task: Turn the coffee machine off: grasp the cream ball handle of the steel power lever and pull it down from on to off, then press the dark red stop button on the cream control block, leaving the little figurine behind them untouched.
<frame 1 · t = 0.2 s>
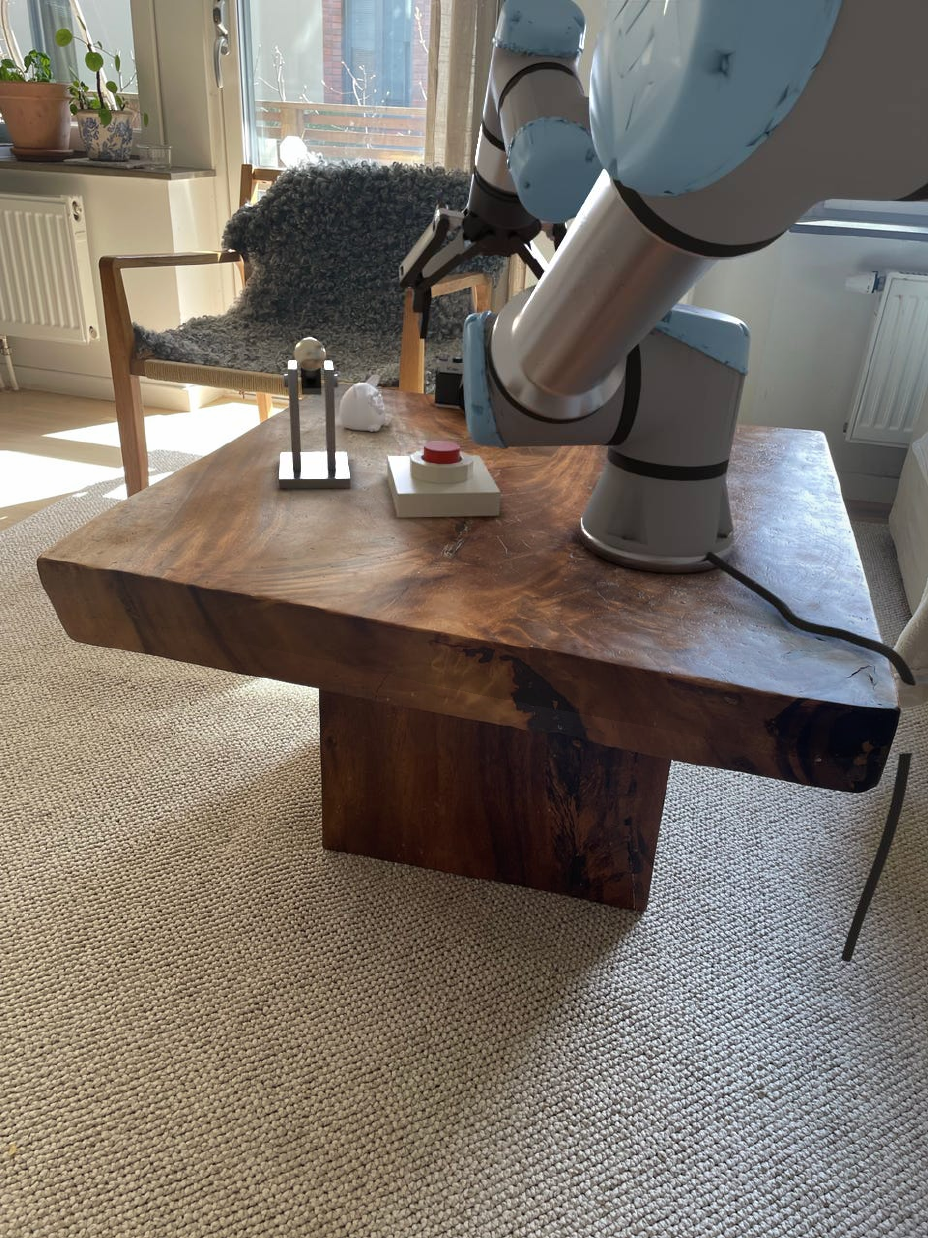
hand: (478, 333, 106), 16 cm above the table, tool tilted 35°, fingers open, 13 cm apart
figurine: (363, 427, 125), on the table
control block: (440, 495, 101), on the table
camera: (472, 412, 135), on the table
stop button: (441, 453, 98), point 5 cm above the table, slide at 0.1 cm
power lever: (310, 368, 95), point 13 cm above the table, hinge at 28.0°
grey metal frame: (314, 474, 105), on the table
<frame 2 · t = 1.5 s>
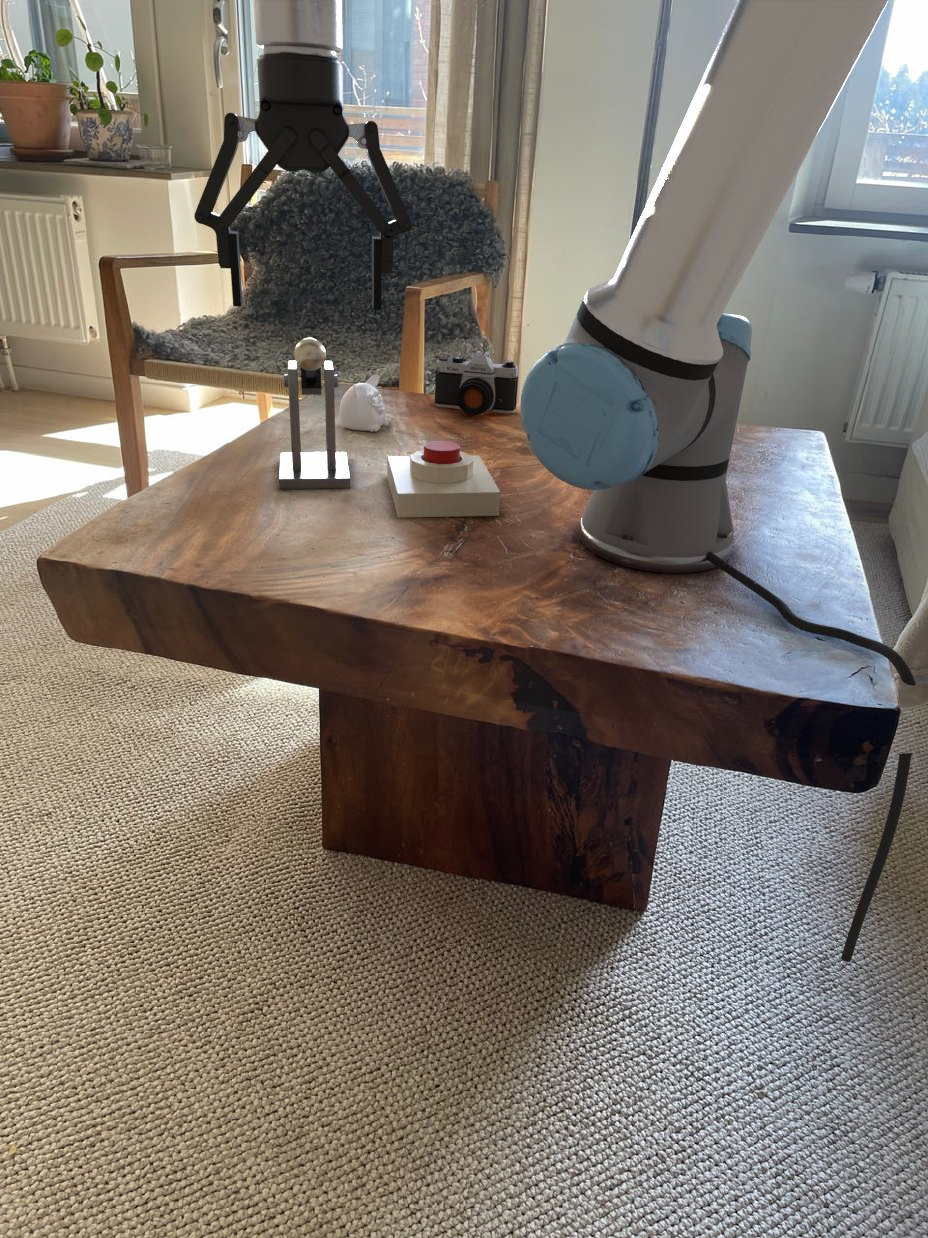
hand: (308, 306, 88), 20 cm above the table, tool pointing down, fingers open, 13 cm apart
nothing on the table moved.
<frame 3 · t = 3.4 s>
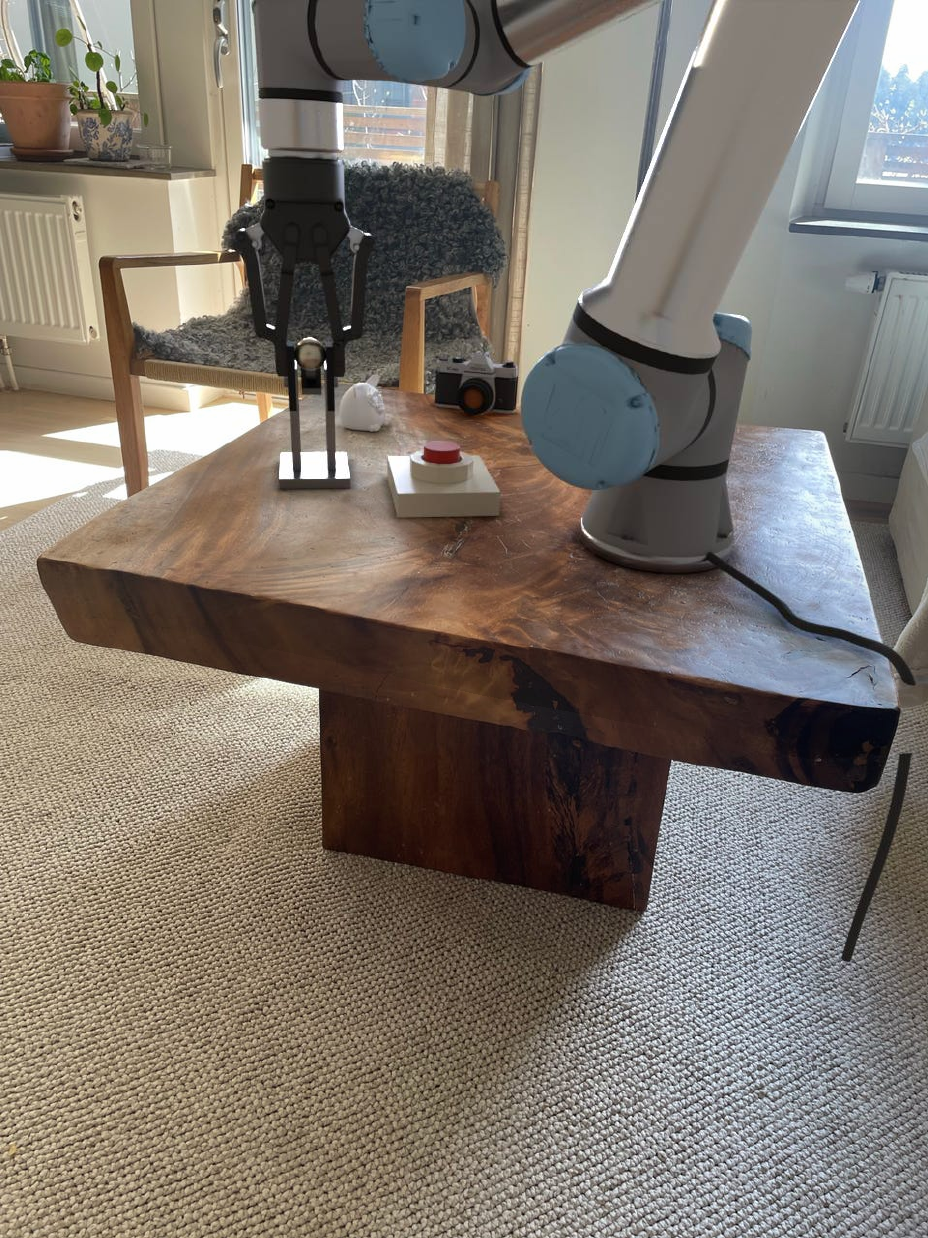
hand: (312, 407, 93), 10 cm above the table, tool pointing down, fingers closed on power lever, 3 cm apart
power lever: (310, 368, 95), point 13 cm above the table, hinge at 28.0°, touching gripper
everything else where it was.
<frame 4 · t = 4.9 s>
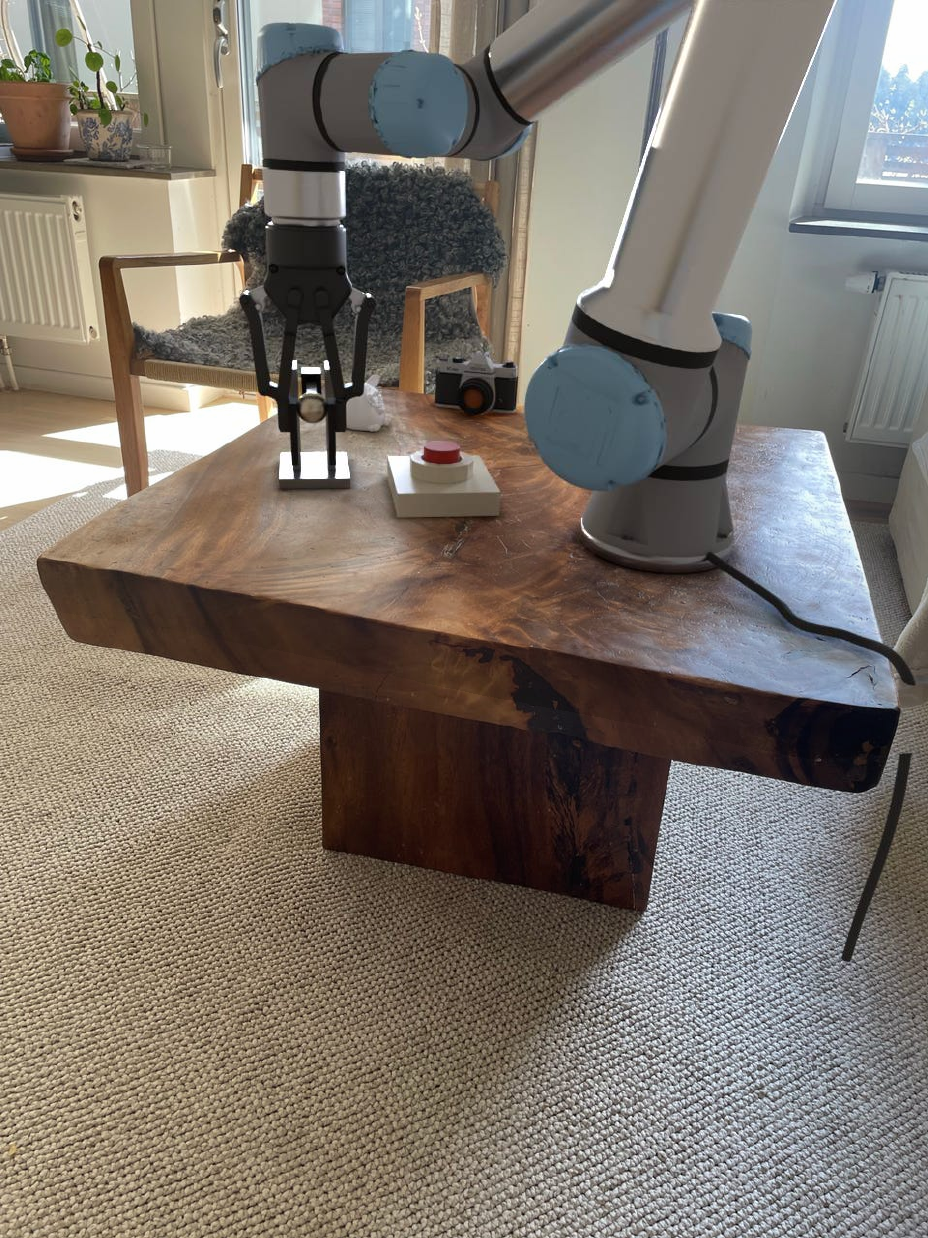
hand: (313, 460, 95), 5 cm above the table, tool pointing down, fingers closed on power lever, 3 cm apart
power lever: (311, 393, 96), point 11 cm above the table, hinge at -2.7°, touching gripper
everything else where it was.
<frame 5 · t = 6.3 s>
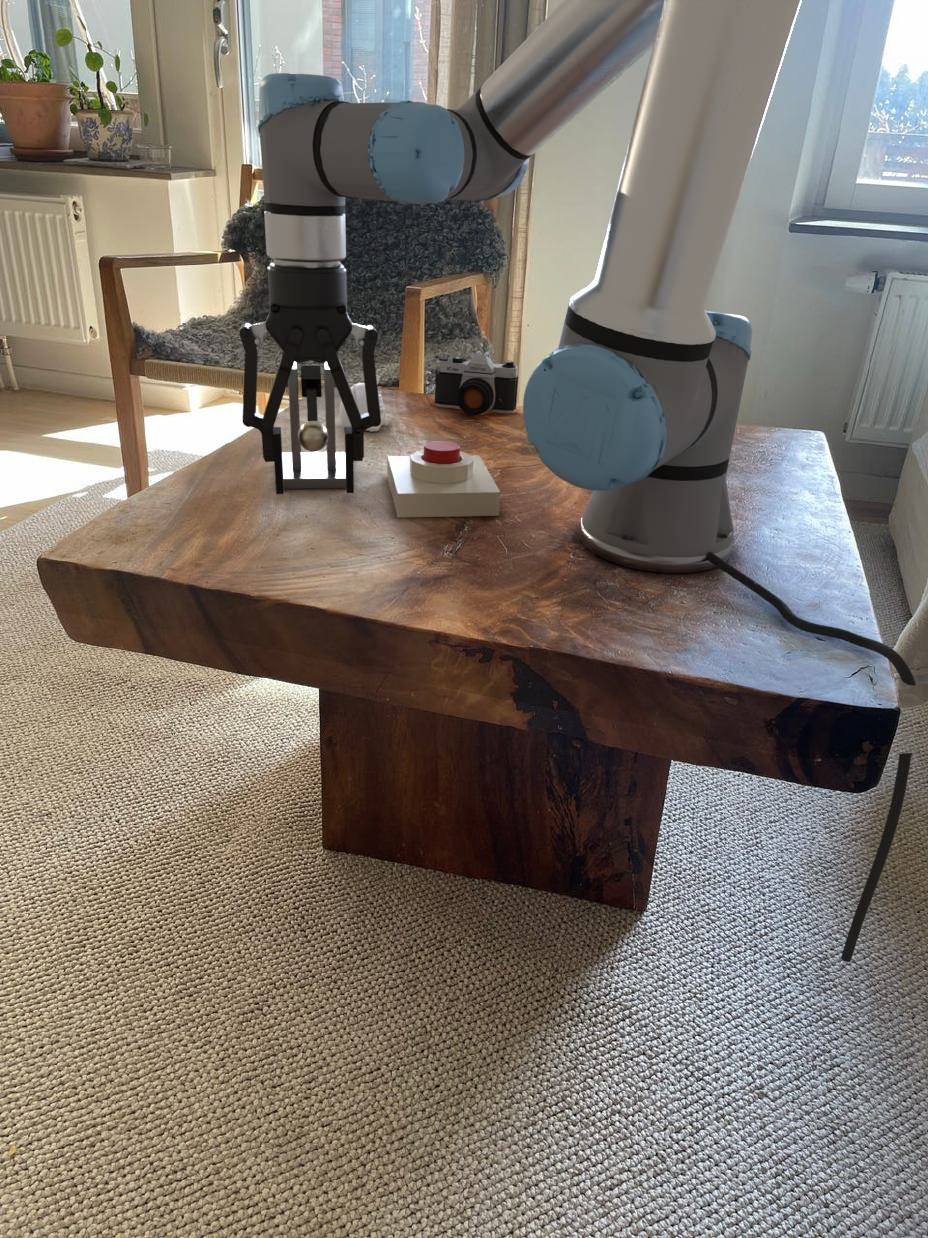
hand: (315, 489, 96), 2 cm above the table, tool pointing down, fingers open, 7 cm apart
power lever: (312, 408, 97), point 9 cm above the table, hinge at -21.4°
everything else where it was.
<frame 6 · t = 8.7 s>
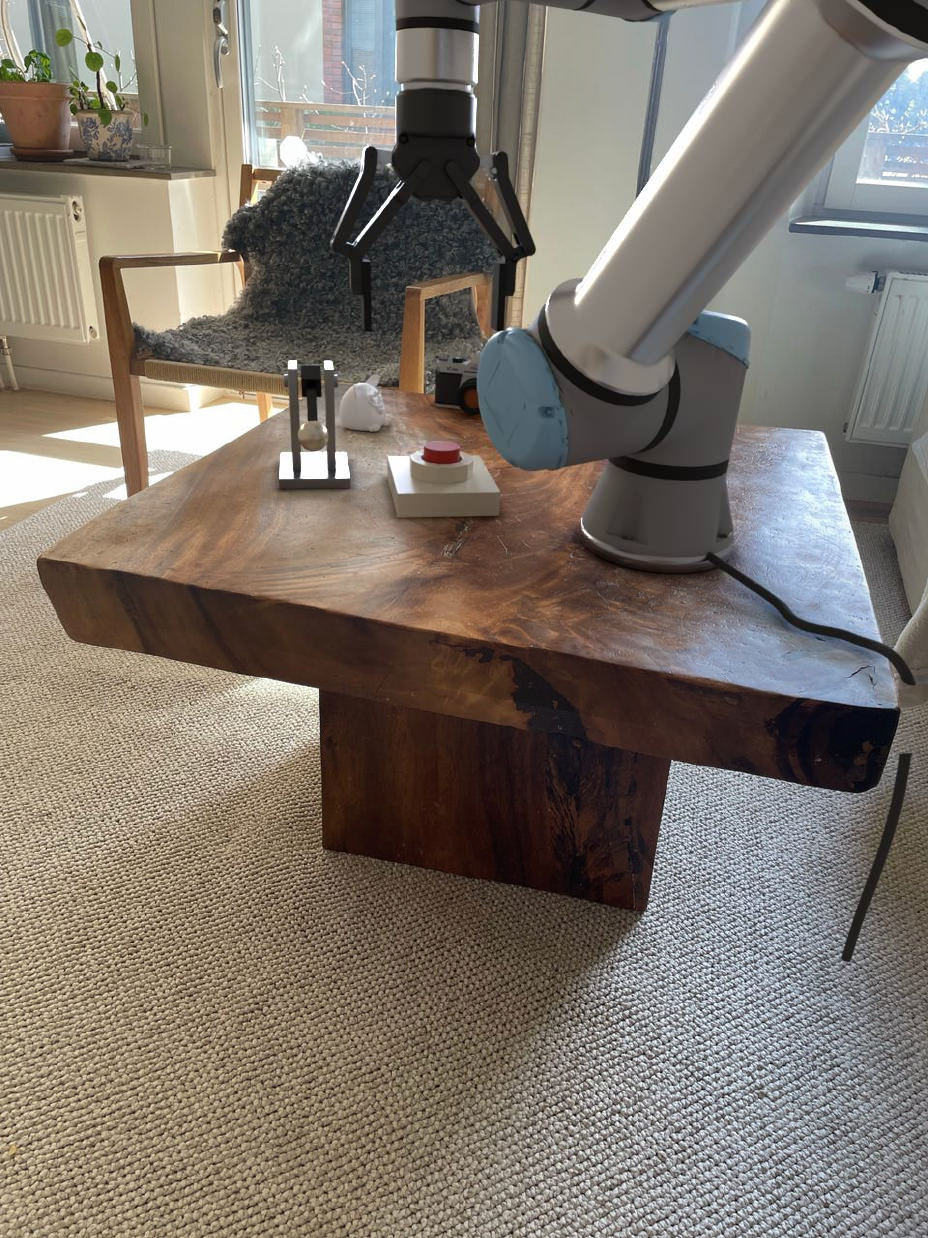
hand: (432, 329, 91), 18 cm above the table, tool pointing down, fingers open, 13 cm apart
nothing on the table moved.
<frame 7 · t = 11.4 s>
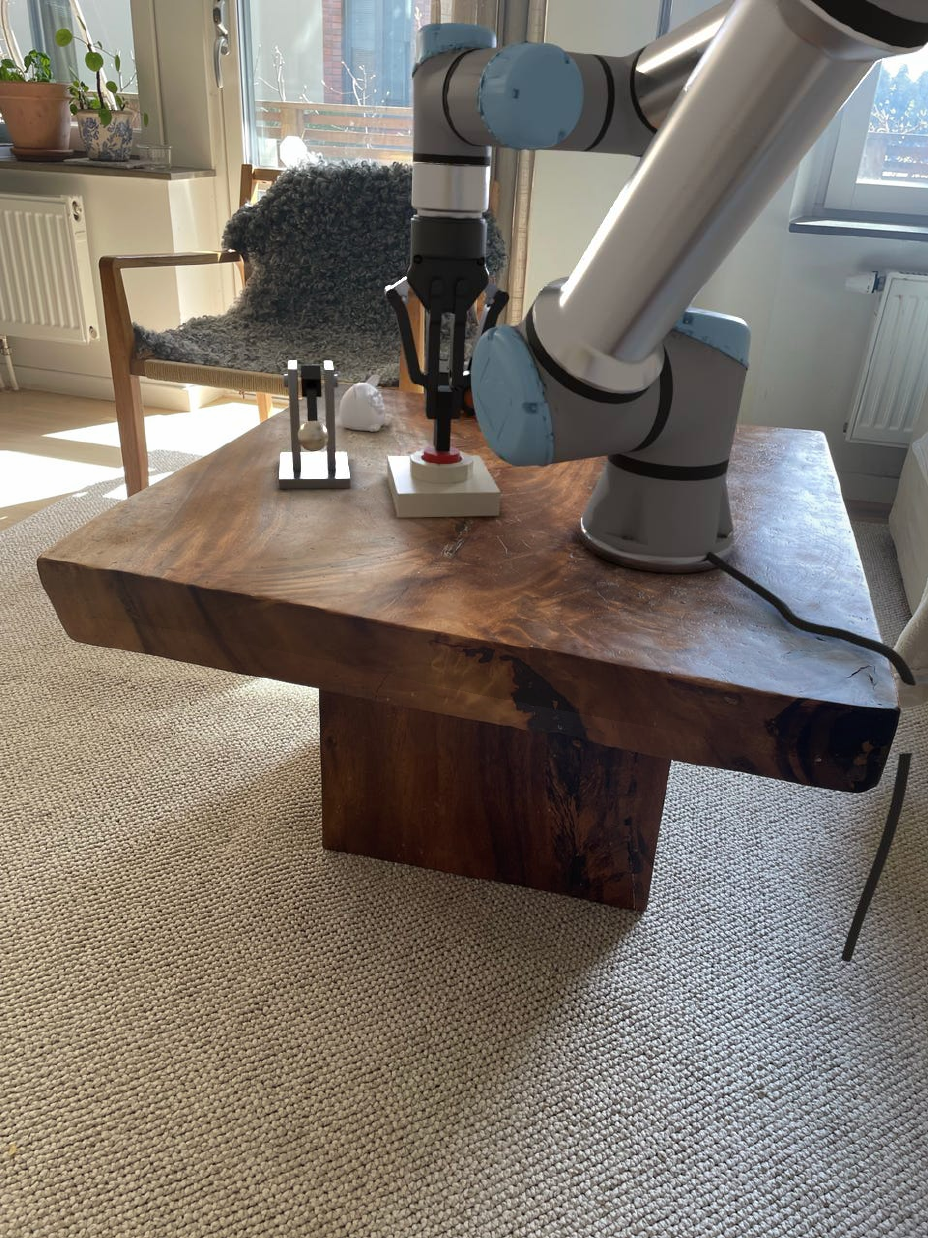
hand: (441, 447, 98), 6 cm above the table, tool pointing down, fingers closed
stop button: (441, 457, 99), point 4 cm above the table, slide at -0.4 cm, touching gripper
everything else where it was.
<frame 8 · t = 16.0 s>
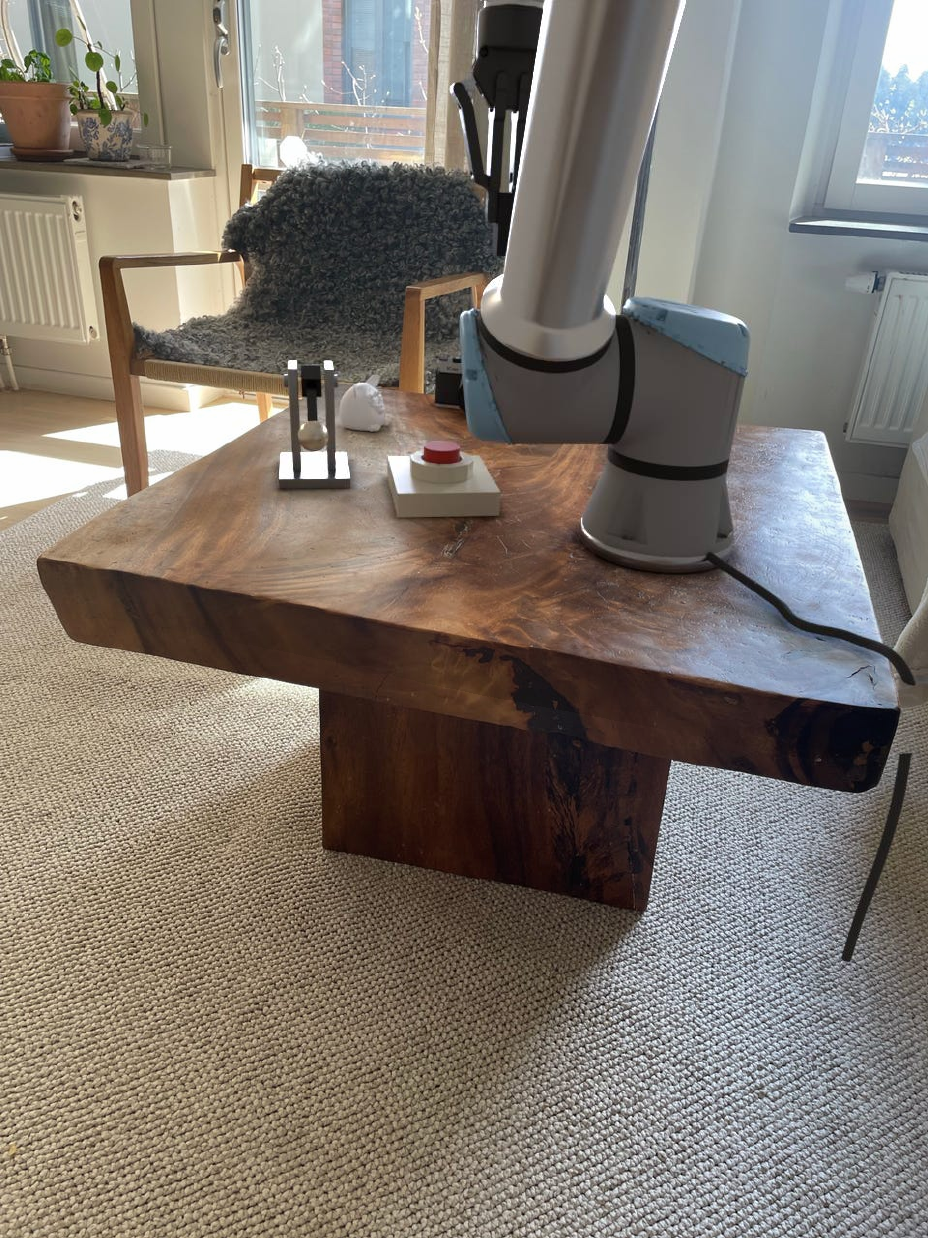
hand: (500, 254, 102), 24 cm above the table, tool pointing down, fingers closed
stop button: (441, 453, 98), point 5 cm above the table, slide at 0.1 cm
everything else where it was.
at the end: power lever at -21° (first picture: +28°); stop button pushed in 1.0 cm at the most during the clip, back to where it started at the end; figurine moved 0.2 cm from its start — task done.
